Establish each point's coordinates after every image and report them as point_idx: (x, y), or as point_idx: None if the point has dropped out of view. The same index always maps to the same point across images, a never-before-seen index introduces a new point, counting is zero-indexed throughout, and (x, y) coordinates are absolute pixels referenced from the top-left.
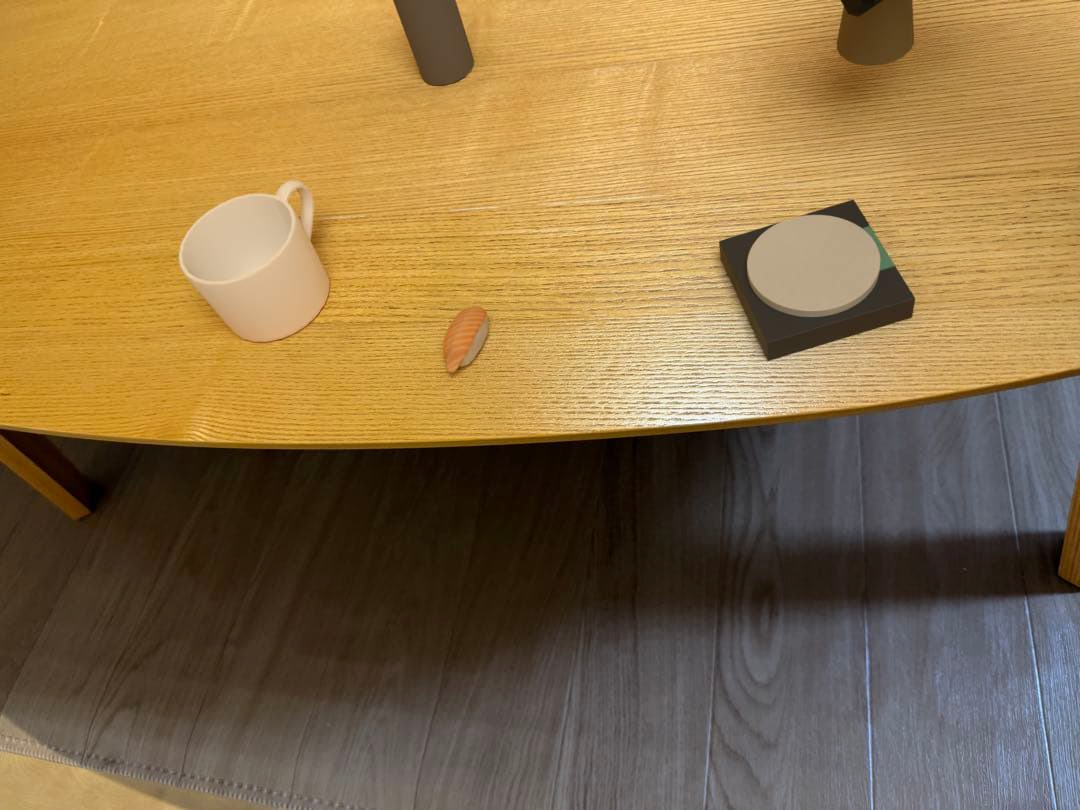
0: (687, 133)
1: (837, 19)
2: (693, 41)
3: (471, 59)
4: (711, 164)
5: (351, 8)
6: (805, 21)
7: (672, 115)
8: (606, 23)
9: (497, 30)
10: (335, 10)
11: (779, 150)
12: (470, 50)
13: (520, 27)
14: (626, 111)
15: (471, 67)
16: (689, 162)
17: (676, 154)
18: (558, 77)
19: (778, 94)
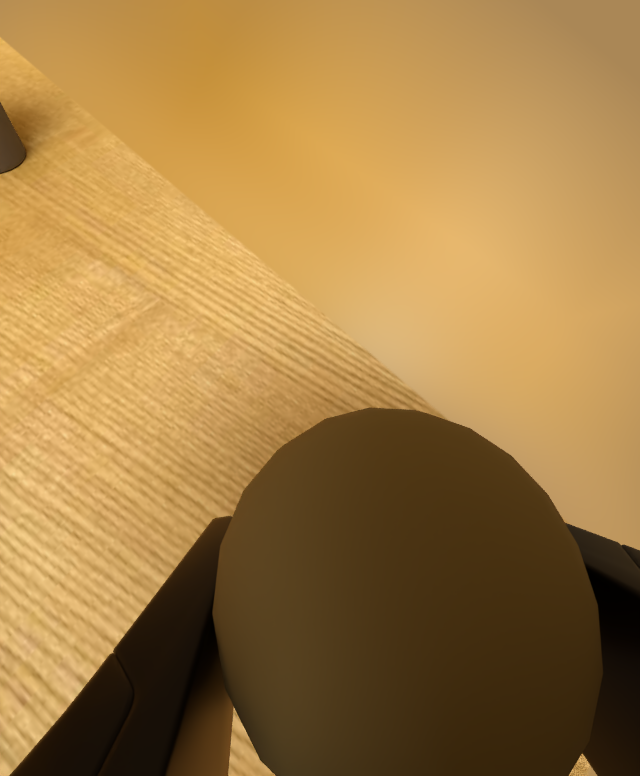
0: (67, 437)
1: (380, 388)
2: (221, 301)
3: (2, 160)
4: (27, 524)
5: (15, 50)
6: (347, 364)
7: (87, 391)
8: (173, 217)
9: (82, 152)
10: (3, 43)
11: (127, 572)
12: (4, 149)
13: (103, 164)
14: (53, 343)
15: (1, 170)
16: (10, 495)
17: (14, 465)
18: (56, 243)
19: (224, 457)
